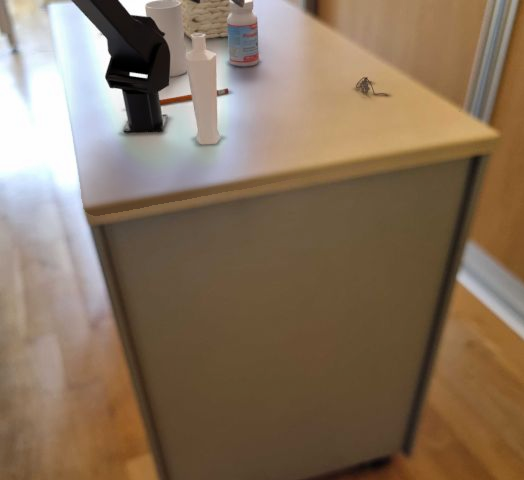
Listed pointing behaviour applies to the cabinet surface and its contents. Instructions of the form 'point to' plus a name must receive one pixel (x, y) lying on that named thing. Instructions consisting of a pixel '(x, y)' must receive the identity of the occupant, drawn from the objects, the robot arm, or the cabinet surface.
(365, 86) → the pendant
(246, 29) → the pill bottle
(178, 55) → the mug
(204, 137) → the perfume bottle
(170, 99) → the pencil
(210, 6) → the basket
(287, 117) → the cabinet surface
